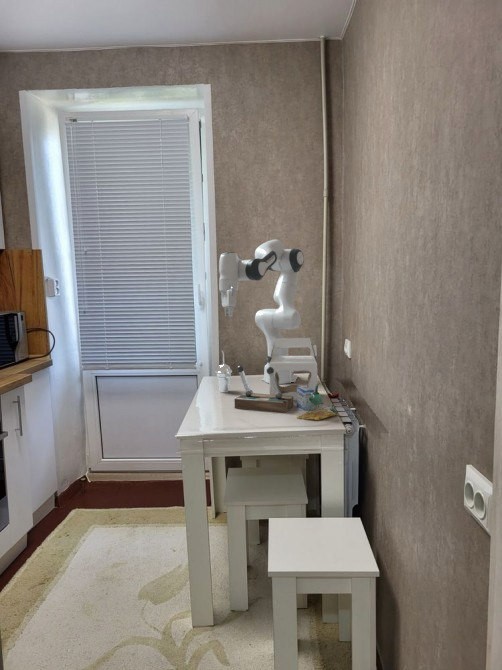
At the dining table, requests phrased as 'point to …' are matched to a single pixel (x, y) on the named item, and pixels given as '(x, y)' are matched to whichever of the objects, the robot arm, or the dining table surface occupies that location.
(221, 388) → the cup with straw
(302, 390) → the medicine box
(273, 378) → the lever
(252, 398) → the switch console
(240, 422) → the dining table surface
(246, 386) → the lever
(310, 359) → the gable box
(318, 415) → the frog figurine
